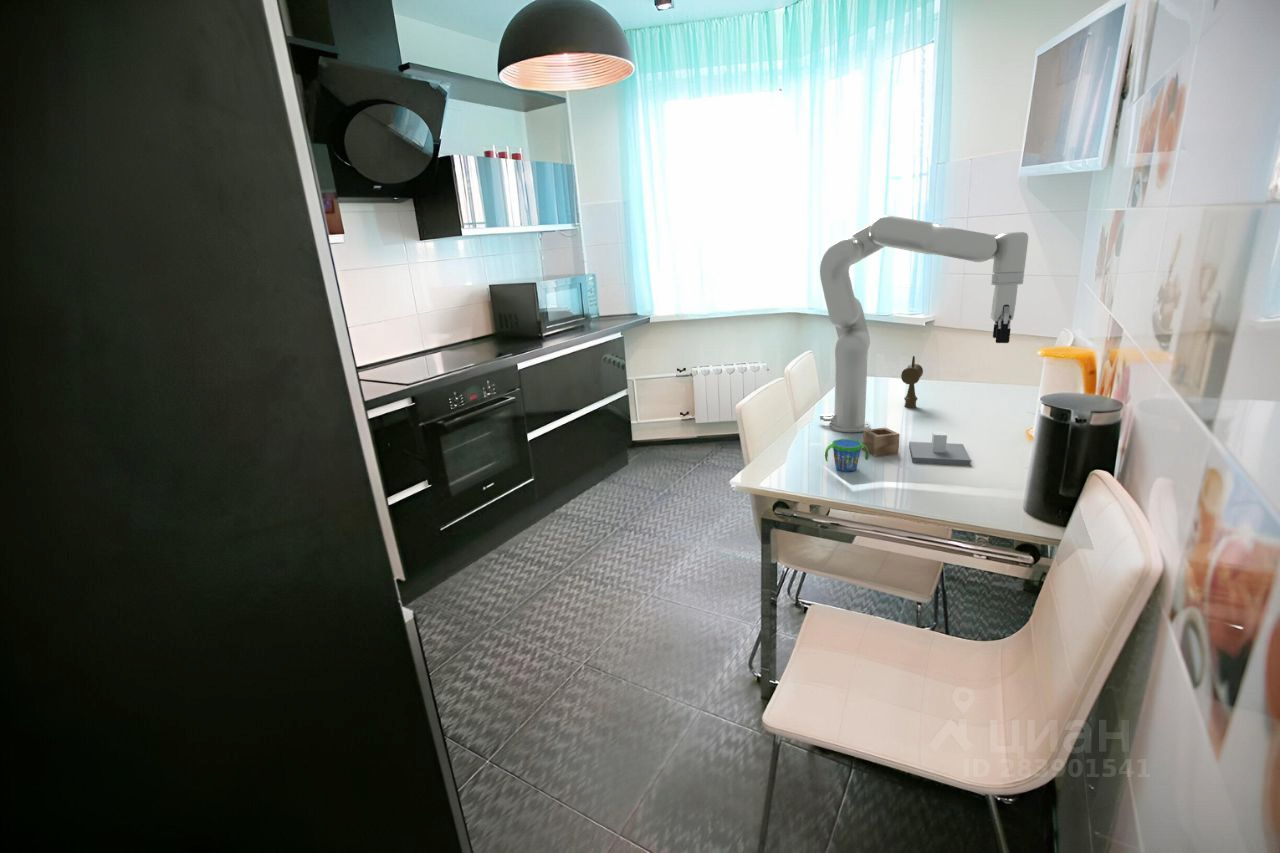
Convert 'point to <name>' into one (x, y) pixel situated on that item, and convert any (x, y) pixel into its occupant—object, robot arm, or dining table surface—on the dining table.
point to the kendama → (911, 382)
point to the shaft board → (939, 458)
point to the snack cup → (846, 454)
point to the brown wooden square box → (881, 441)
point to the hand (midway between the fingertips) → (1000, 340)
